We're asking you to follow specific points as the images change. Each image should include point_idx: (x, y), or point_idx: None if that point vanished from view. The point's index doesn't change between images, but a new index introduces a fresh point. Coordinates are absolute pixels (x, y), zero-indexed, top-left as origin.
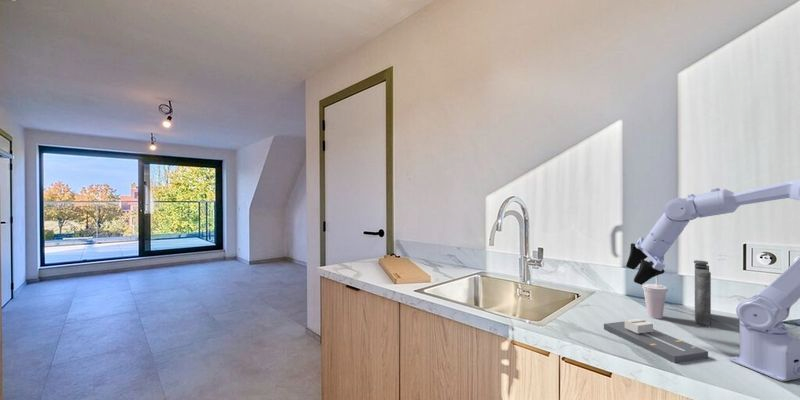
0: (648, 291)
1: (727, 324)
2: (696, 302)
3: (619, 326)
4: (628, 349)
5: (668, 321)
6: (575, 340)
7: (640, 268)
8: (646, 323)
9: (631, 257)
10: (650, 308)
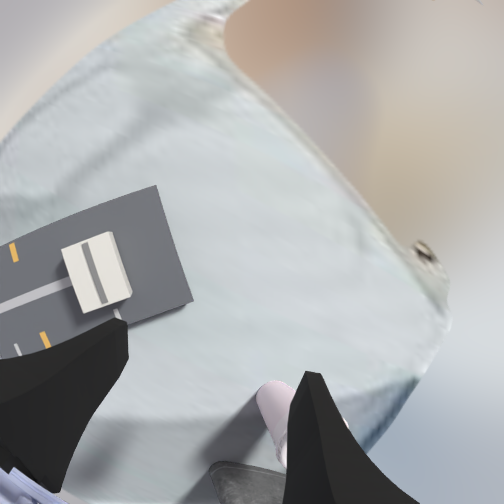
0: None
1: None
2: (253, 496)
3: (133, 226)
4: (25, 189)
5: (237, 412)
6: (83, 77)
7: (30, 368)
8: (83, 292)
9: (315, 438)
10: (273, 394)
